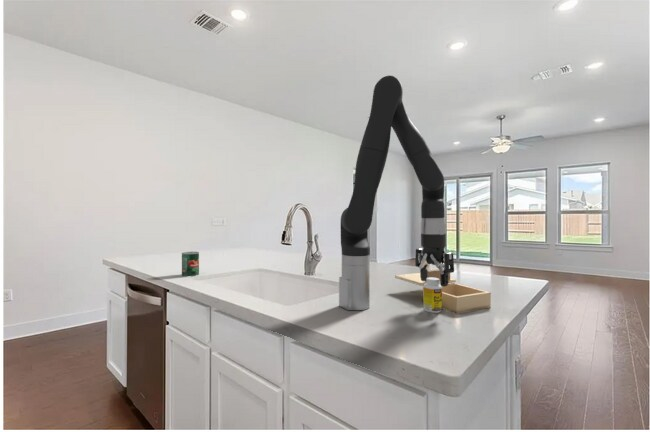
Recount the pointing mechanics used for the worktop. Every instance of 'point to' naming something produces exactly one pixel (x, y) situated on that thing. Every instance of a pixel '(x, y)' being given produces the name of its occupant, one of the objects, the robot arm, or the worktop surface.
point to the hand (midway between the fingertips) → (433, 283)
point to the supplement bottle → (432, 295)
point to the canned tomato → (190, 263)
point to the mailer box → (464, 298)
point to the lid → (416, 277)
